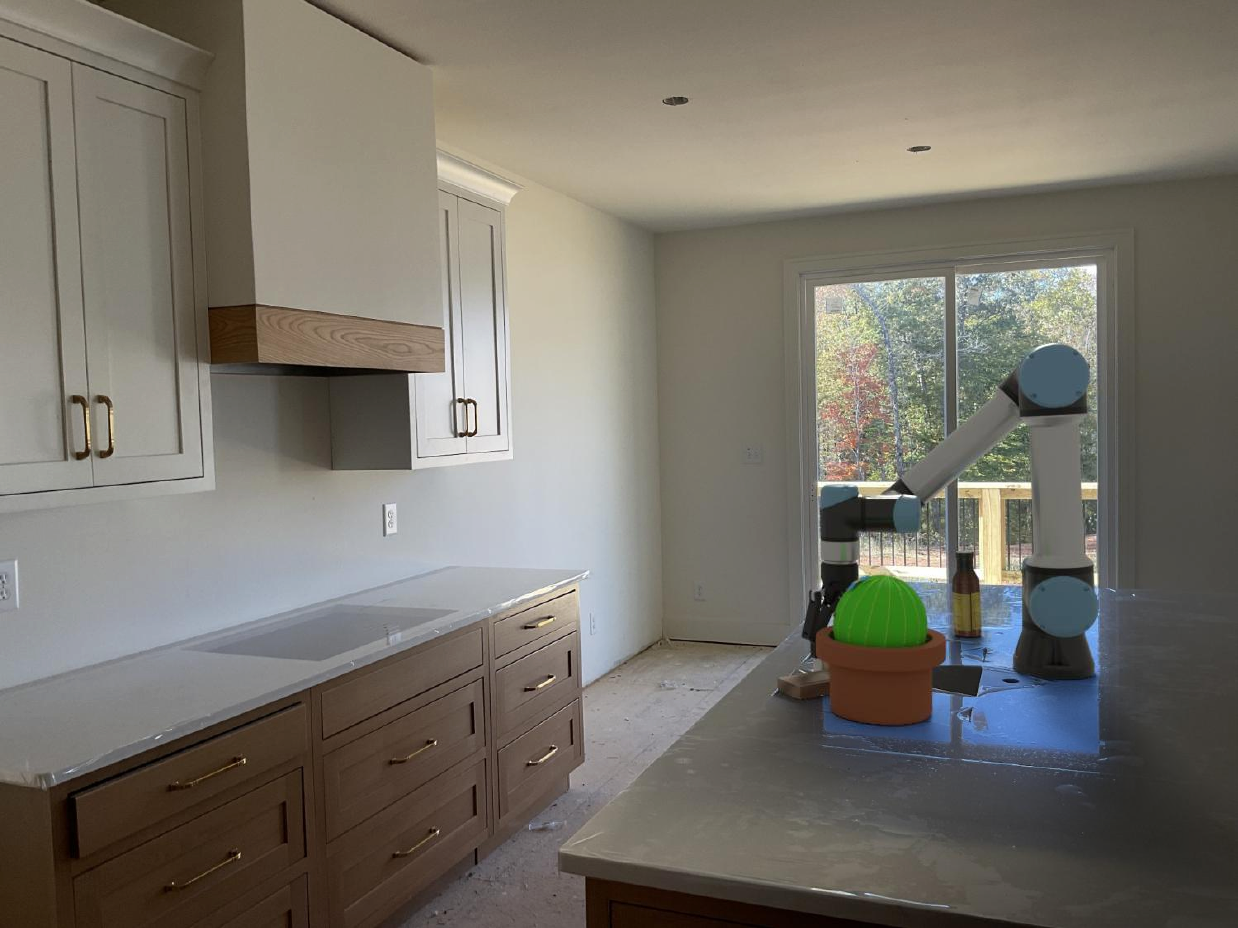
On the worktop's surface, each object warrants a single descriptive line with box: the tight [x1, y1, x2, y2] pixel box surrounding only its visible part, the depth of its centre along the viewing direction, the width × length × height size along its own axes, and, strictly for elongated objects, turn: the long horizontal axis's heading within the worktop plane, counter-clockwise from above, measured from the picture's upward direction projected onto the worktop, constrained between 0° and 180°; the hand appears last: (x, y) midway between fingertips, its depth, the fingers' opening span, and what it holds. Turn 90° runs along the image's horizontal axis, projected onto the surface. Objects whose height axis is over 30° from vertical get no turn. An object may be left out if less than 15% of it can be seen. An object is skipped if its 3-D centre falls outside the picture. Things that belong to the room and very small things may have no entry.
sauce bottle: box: [951, 549, 983, 638], centre depth 227 cm, size 7×6×20 cm
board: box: [777, 669, 830, 701], centre depth 187 cm, size 7×22×3 cm, turn 117°
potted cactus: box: [816, 571, 947, 726], centre depth 171 cm, size 22×22×25 cm
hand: (840, 670), depth 196 cm, fingers open, 10 cm apart
